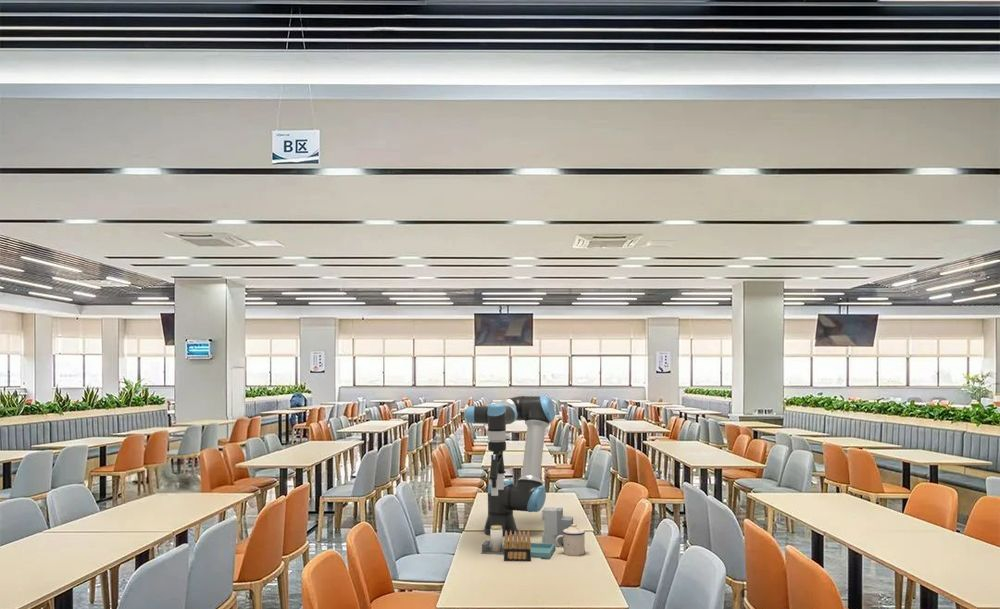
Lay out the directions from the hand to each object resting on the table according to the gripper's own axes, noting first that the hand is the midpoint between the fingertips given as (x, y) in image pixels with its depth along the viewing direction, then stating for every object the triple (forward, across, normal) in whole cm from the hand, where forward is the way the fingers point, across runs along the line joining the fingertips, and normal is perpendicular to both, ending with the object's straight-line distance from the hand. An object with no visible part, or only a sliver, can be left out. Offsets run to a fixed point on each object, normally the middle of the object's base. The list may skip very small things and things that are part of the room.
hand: (497, 492), depth 311 cm
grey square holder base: (+24, 0, -1) cm, 24 cm away
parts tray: (+24, 0, +15) cm, 28 cm away
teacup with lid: (+25, -2, +30) cm, 39 cm away
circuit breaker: (+25, -16, +24) cm, 38 cm away
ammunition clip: (+24, +14, +10) cm, 30 cm away
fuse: (+24, 0, -1) cm, 24 cm away
